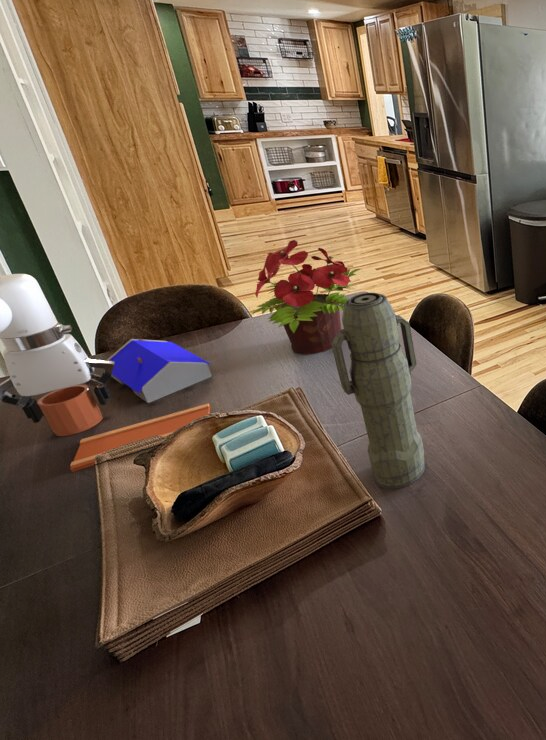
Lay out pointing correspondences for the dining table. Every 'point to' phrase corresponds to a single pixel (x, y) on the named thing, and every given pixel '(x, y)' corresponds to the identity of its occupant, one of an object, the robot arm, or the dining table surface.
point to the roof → (157, 368)
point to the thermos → (382, 386)
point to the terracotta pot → (70, 410)
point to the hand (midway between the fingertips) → (73, 410)
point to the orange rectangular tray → (133, 435)
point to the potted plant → (306, 299)
